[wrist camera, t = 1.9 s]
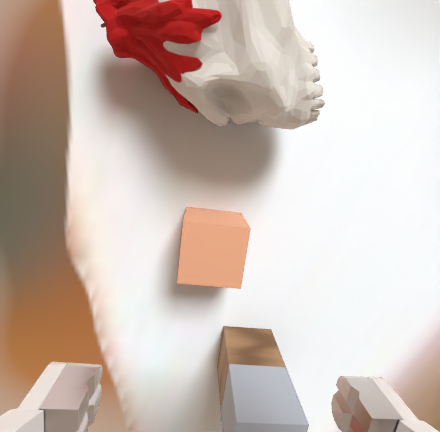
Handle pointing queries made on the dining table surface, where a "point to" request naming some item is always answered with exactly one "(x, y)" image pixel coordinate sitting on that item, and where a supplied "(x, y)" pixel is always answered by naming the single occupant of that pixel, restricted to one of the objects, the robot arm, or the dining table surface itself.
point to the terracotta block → (213, 248)
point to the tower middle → (261, 401)
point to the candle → (221, 56)
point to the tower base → (246, 351)
